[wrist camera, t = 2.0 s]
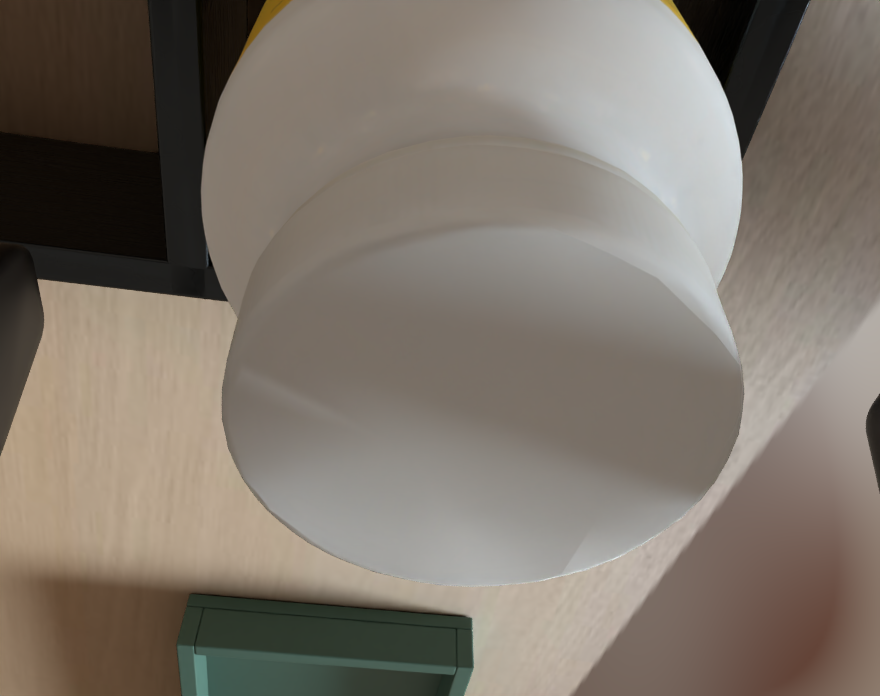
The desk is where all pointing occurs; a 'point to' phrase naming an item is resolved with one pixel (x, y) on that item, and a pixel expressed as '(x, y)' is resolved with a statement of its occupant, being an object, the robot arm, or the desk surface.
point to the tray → (319, 650)
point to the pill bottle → (475, 279)
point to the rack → (187, 129)
